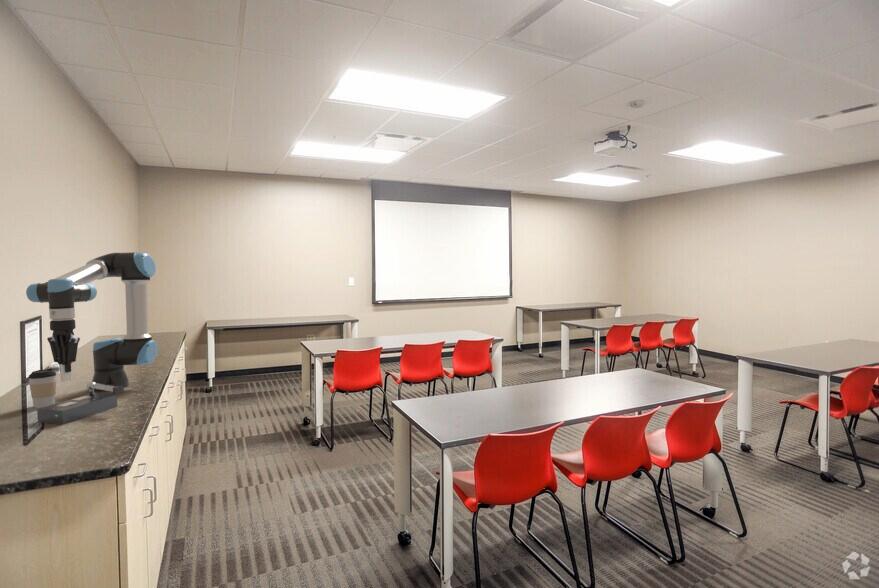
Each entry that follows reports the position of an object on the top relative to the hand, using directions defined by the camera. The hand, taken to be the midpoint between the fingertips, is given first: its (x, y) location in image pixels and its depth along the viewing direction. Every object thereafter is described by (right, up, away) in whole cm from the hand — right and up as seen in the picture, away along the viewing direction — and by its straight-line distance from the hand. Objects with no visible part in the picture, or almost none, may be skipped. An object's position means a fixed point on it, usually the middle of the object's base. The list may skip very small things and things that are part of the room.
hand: (66, 380), depth 176 cm
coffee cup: (-23, -14, +17) cm, 32 cm away
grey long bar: (+7, -6, +11) cm, 14 cm away
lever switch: (+1, -14, +5) cm, 15 cm away
